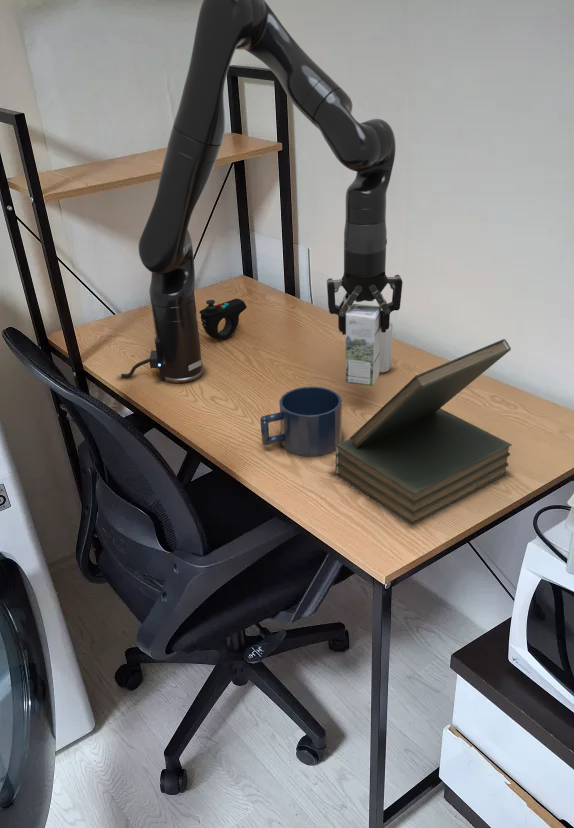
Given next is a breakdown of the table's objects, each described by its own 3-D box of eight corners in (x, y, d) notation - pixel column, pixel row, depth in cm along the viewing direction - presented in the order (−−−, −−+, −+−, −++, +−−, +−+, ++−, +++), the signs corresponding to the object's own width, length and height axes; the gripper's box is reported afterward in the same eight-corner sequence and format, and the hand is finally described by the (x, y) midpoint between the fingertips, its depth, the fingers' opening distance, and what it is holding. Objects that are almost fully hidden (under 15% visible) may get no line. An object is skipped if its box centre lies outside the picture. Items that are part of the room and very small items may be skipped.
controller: (199, 342, 187) (195, 302, 181) (239, 327, 193) (236, 287, 188) (210, 347, 184) (206, 306, 178) (250, 331, 191) (247, 292, 185)
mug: (326, 420, 154) (326, 381, 149) (351, 448, 146) (351, 407, 141) (252, 438, 150) (249, 398, 145) (273, 467, 142) (271, 426, 137)
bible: (427, 431, 150) (437, 306, 135) (507, 474, 137) (528, 342, 122) (335, 473, 139) (335, 343, 124) (412, 525, 126) (422, 386, 111)
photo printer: (347, 360, 176) (348, 308, 169) (361, 354, 178) (362, 302, 171) (380, 375, 169) (381, 321, 162) (394, 369, 171) (396, 315, 164)
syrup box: (380, 374, 156) (382, 304, 148) (372, 387, 152) (375, 316, 143) (352, 370, 158) (353, 301, 149) (344, 384, 153) (345, 313, 145)
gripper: (402, 236, 142) (398, 322, 152) (323, 240, 142) (324, 326, 152) (408, 249, 136) (404, 338, 146) (326, 254, 136) (327, 342, 146)
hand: (363, 331), depth 149 cm, fingers closed on syrup box, 7 cm apart
